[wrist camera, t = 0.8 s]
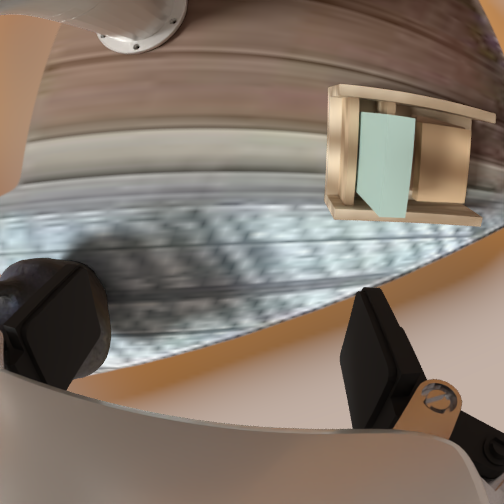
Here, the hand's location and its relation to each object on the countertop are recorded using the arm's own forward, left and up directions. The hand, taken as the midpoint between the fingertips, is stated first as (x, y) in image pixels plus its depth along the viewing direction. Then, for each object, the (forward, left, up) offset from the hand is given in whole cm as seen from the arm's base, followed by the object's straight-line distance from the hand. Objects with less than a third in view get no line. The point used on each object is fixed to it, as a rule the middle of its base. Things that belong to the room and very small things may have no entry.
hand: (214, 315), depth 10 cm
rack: (-2, +19, -31) cm, 36 cm away
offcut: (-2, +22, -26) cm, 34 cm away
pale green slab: (-2, +13, -30) cm, 32 cm away
